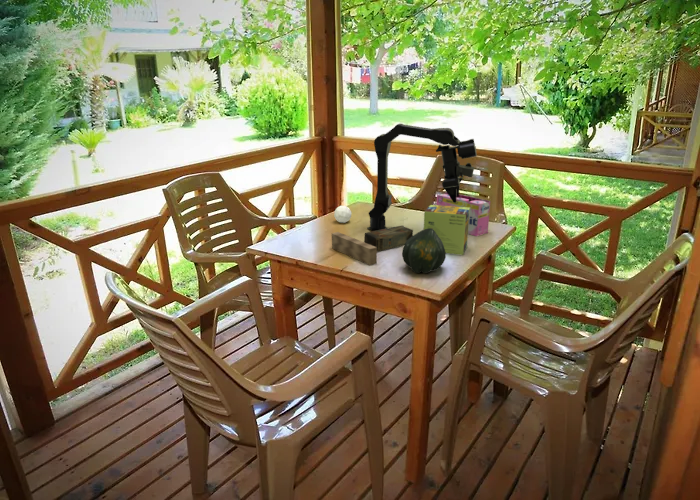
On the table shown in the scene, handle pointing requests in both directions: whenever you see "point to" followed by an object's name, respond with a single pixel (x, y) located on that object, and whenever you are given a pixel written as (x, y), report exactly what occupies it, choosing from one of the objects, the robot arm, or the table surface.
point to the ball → (342, 214)
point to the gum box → (470, 211)
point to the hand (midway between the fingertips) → (456, 199)
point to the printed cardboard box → (388, 237)
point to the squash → (424, 251)
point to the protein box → (449, 226)
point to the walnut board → (354, 248)
